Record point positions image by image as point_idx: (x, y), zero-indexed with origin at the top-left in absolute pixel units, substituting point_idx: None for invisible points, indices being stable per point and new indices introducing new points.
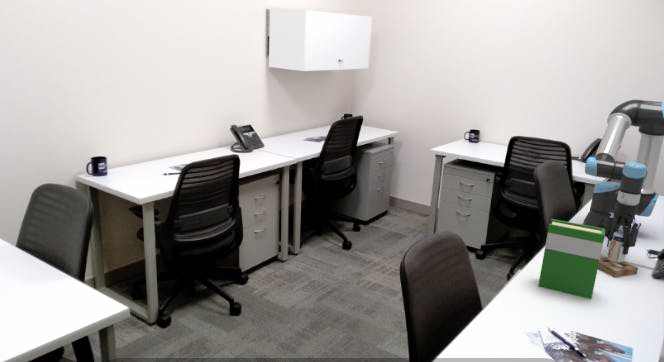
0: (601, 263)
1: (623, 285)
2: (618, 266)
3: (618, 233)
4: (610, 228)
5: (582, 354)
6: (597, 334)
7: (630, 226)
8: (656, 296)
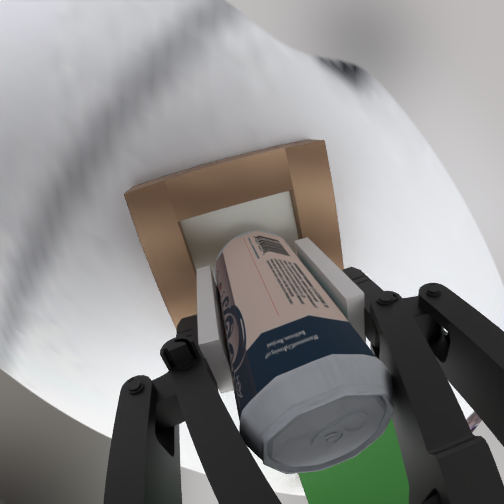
0: None
1: (394, 291)
2: (258, 227)
3: (332, 453)
4: (163, 477)
5: (476, 426)
6: (471, 410)
7: (487, 471)
8: (468, 219)
